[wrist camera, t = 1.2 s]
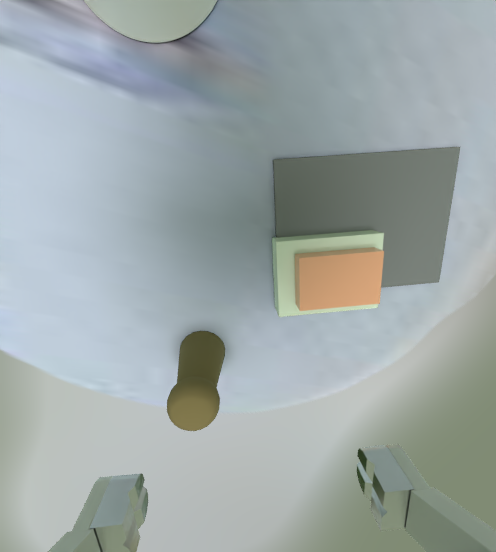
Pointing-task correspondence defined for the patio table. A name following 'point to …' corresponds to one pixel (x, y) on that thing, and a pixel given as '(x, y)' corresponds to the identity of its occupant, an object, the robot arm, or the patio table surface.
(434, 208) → the mat
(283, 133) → the patio table surface
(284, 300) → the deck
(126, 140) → the patio table surface
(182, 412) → the cork
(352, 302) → the block
